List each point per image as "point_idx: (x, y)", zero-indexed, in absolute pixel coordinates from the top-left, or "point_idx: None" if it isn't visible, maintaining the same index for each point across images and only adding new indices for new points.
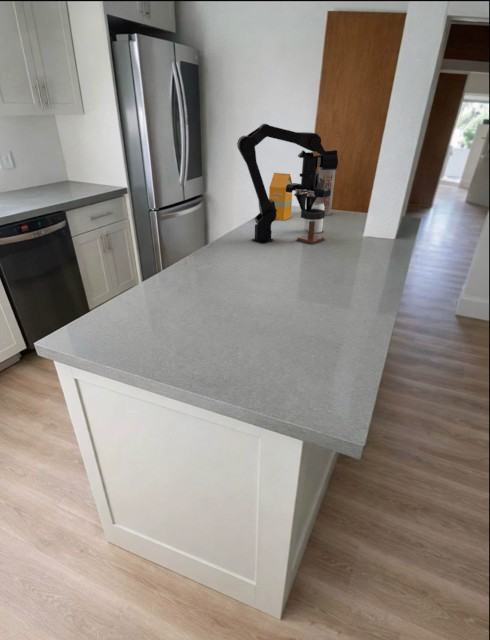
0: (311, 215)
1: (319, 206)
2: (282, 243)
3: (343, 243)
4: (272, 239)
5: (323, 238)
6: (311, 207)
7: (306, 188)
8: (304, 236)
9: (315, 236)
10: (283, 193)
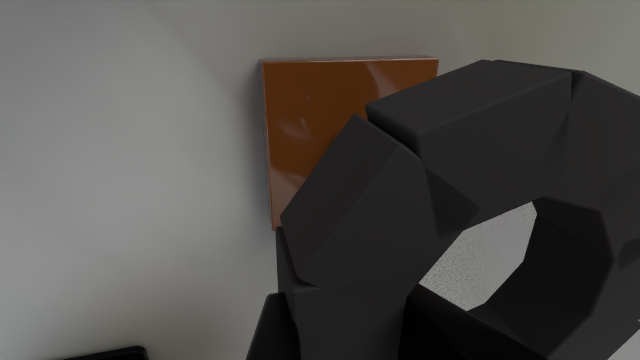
0: None
1: None
2: (247, 329)
3: (578, 15)
4: (145, 357)
5: (434, 68)
6: (493, 339)
7: None
8: (293, 164)
9: (365, 91)
10: None
